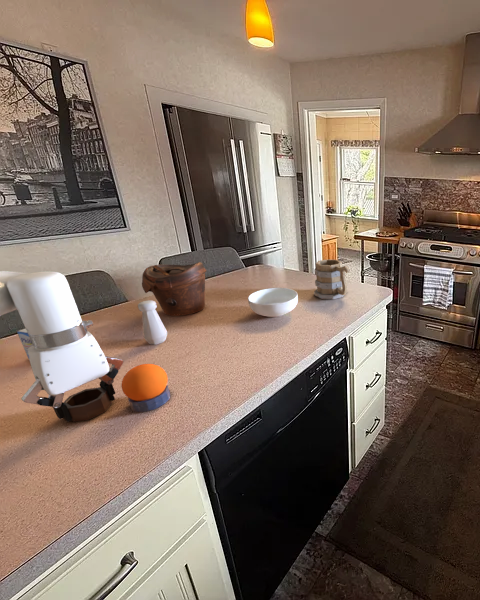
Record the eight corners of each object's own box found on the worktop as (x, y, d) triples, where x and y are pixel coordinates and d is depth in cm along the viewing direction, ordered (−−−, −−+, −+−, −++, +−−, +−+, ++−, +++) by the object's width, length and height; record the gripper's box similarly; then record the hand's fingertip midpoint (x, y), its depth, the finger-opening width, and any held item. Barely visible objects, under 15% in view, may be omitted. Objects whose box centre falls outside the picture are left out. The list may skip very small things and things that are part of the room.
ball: (139, 413, 68) (128, 381, 65) (119, 401, 71) (108, 370, 68) (178, 392, 75) (170, 362, 72) (159, 382, 78) (150, 353, 75)
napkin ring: (77, 425, 66) (71, 411, 65) (63, 414, 69) (57, 401, 68) (116, 406, 72) (111, 393, 70) (101, 397, 74) (96, 384, 73)
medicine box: (28, 360, 88) (15, 331, 84) (48, 351, 92) (36, 324, 88) (50, 364, 86) (37, 335, 83) (69, 355, 90) (58, 327, 87)
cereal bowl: (240, 318, 115) (236, 299, 113) (271, 301, 130) (269, 285, 127) (280, 326, 110) (277, 306, 108) (308, 308, 125) (306, 290, 122)
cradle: (142, 416, 69) (139, 406, 68) (124, 405, 72) (121, 396, 71) (177, 397, 75) (174, 388, 74) (159, 387, 78) (156, 379, 77)
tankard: (310, 293, 140) (307, 259, 135) (335, 287, 148) (333, 254, 143) (334, 307, 126) (332, 270, 121) (361, 299, 134) (360, 264, 129)
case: (147, 309, 121) (134, 262, 114) (207, 297, 133) (198, 254, 126) (154, 325, 108) (139, 274, 102) (219, 310, 121) (210, 263, 114)
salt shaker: (149, 338, 100) (137, 299, 95) (171, 335, 102) (160, 297, 97) (142, 347, 95) (130, 306, 90) (165, 344, 97) (154, 304, 92)
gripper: (103, 315, 72) (126, 382, 79) (-15, 349, 58) (25, 428, 64) (121, 322, 69) (143, 391, 76) (0, 360, 55) (41, 442, 61)
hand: (89, 407), depth 70 cm, fingers closed on napkin ring, 6 cm apart
